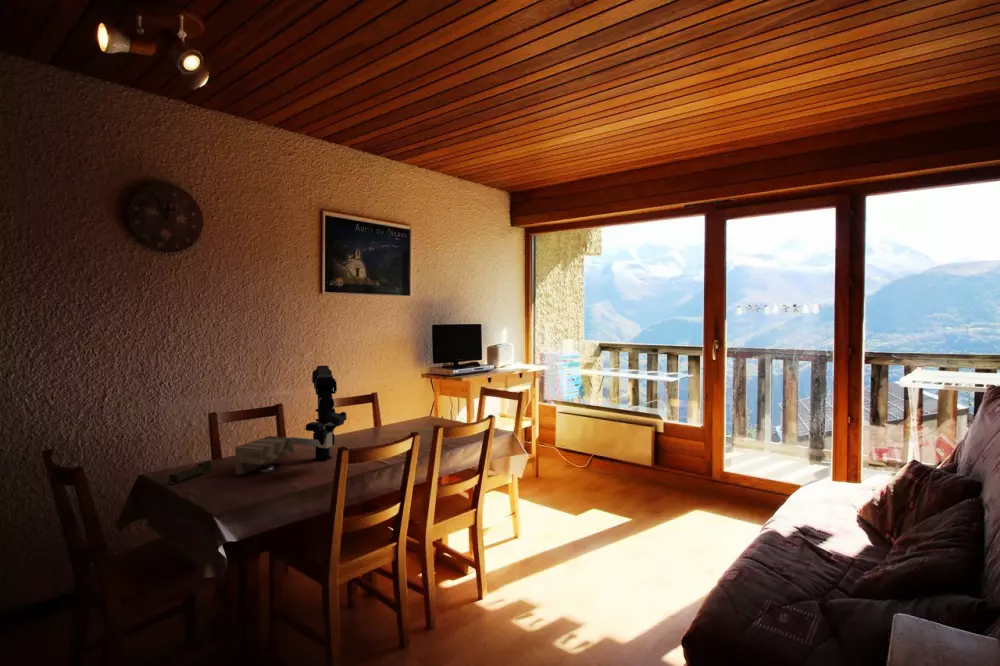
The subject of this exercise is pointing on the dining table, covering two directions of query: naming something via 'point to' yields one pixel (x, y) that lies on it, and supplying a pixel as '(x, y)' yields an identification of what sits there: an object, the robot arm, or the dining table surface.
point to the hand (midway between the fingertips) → (325, 443)
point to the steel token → (266, 468)
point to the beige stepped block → (261, 453)
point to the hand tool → (191, 472)
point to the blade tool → (313, 441)
